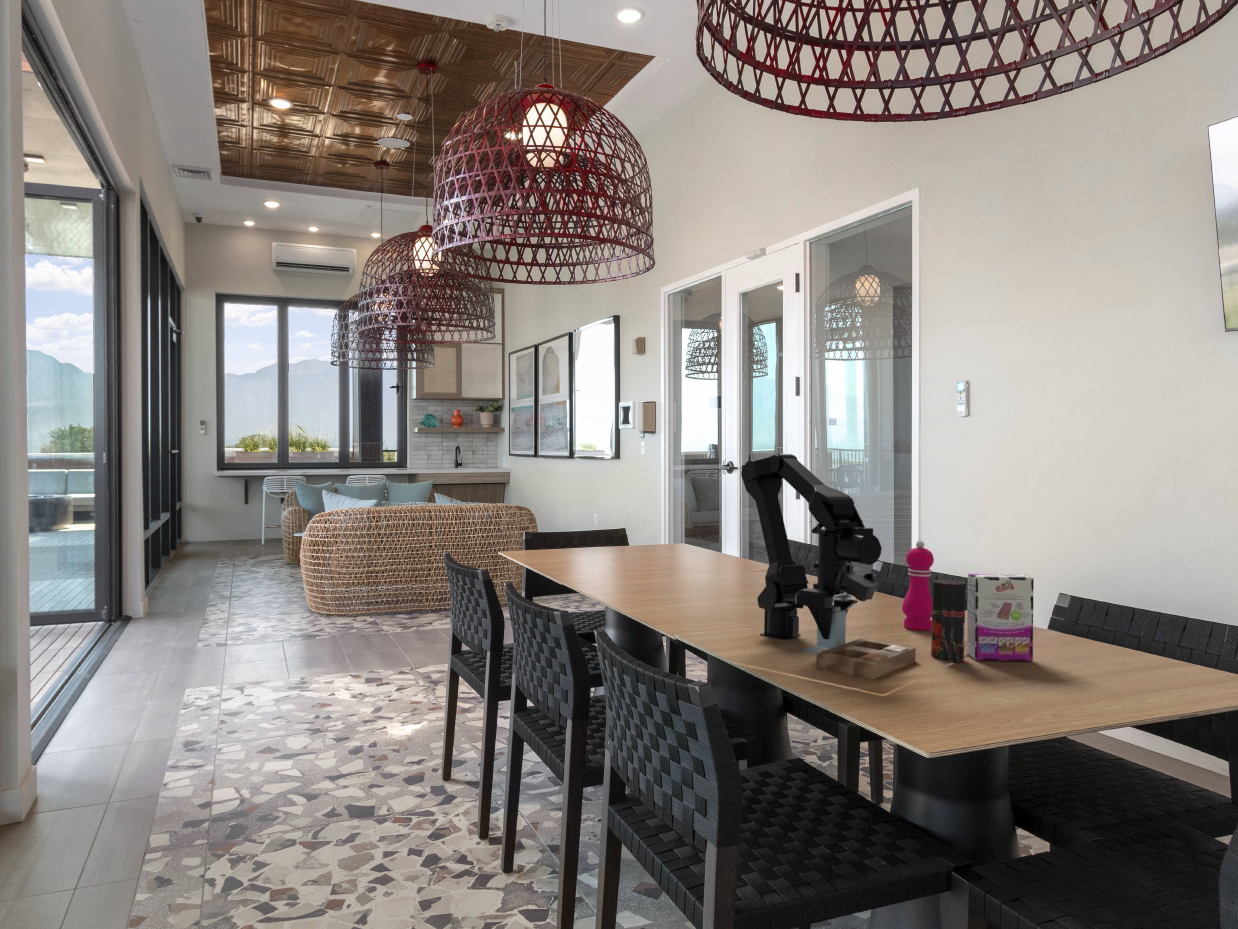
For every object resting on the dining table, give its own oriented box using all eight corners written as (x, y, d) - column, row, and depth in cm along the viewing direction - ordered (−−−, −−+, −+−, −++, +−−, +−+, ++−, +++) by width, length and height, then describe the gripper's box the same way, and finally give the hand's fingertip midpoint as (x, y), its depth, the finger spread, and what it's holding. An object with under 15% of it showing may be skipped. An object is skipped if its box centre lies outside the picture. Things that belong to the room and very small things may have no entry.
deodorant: (966, 663, 158) (968, 585, 158) (933, 661, 159) (935, 583, 159) (960, 656, 164) (962, 580, 163) (928, 654, 165) (930, 579, 165)
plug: (816, 645, 164) (817, 607, 163) (826, 642, 167) (827, 604, 166) (835, 649, 161) (836, 610, 161) (845, 645, 164) (846, 607, 164)
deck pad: (798, 653, 164) (798, 651, 163) (821, 646, 170) (821, 644, 170) (840, 662, 157) (840, 659, 157) (862, 654, 164) (862, 652, 164)
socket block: (816, 669, 151) (816, 651, 151) (861, 653, 165) (861, 636, 165) (873, 681, 144) (873, 662, 144) (915, 663, 157) (915, 646, 157)
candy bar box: (1021, 656, 165) (1023, 573, 165) (1033, 662, 160) (1035, 577, 160) (964, 654, 165) (966, 572, 165) (974, 661, 160) (976, 576, 160)
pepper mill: (939, 631, 187) (941, 542, 187) (907, 630, 187) (909, 542, 187) (928, 624, 194) (930, 539, 194) (897, 624, 194) (899, 538, 194)
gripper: (848, 567, 151) (846, 652, 151) (892, 558, 165) (890, 636, 165) (794, 560, 159) (793, 642, 159) (840, 553, 172) (839, 628, 173)
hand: (831, 637), depth 164 cm, fingers closed on plug, 4 cm apart
